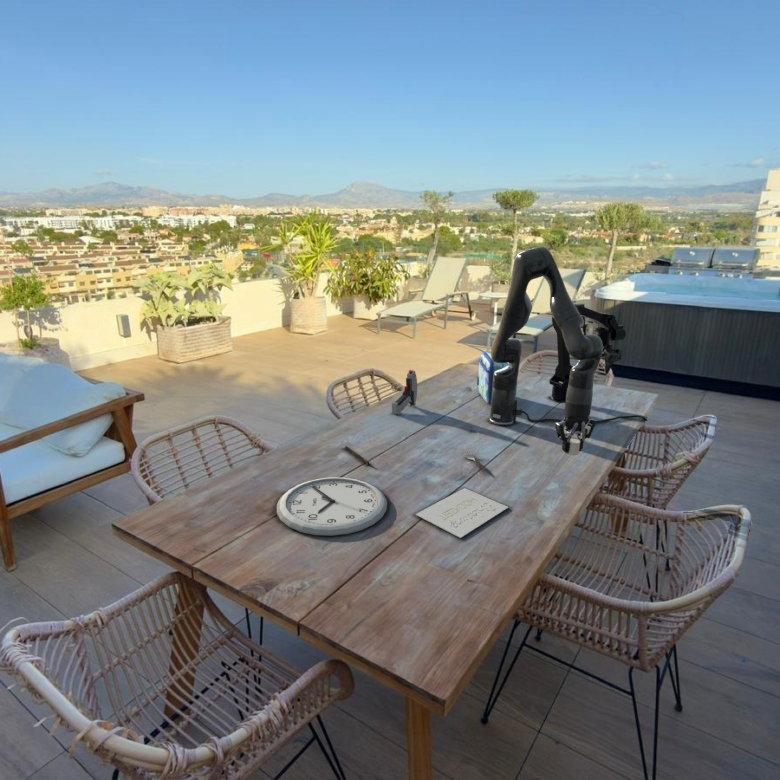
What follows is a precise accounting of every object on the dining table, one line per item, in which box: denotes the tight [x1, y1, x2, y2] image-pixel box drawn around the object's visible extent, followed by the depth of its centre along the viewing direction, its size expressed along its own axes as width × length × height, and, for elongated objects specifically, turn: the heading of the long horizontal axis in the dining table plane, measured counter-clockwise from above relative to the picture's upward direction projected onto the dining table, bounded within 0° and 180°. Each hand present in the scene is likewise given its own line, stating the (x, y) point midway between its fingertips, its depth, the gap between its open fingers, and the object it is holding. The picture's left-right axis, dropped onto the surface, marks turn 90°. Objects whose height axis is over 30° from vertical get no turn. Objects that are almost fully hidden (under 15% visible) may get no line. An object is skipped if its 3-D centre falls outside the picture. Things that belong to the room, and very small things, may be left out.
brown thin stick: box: [344, 445, 370, 465], centre depth 173 cm, size 15×1×1 cm, turn 34°
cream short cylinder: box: [566, 437, 580, 456], centre depth 164 cm, size 4×4×4 cm
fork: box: [463, 448, 488, 474], centre depth 169 cm, size 3×16×2 cm, turn 15°
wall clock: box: [276, 476, 388, 537], centre depth 142 cm, size 30×2×30 cm
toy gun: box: [391, 369, 418, 415], centre depth 216 cm, size 2×16×15 cm
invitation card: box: [414, 487, 509, 539], centre depth 141 cm, size 21×1×15 cm
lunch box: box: [476, 351, 509, 406], centre depth 230 cm, size 26×11×21 cm, turn 179°
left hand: (572, 451), depth 165 cm, fingers closed on cream short cylinder, 4 cm apart
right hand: (598, 374), depth 241 cm, fingers open, 9 cm apart
